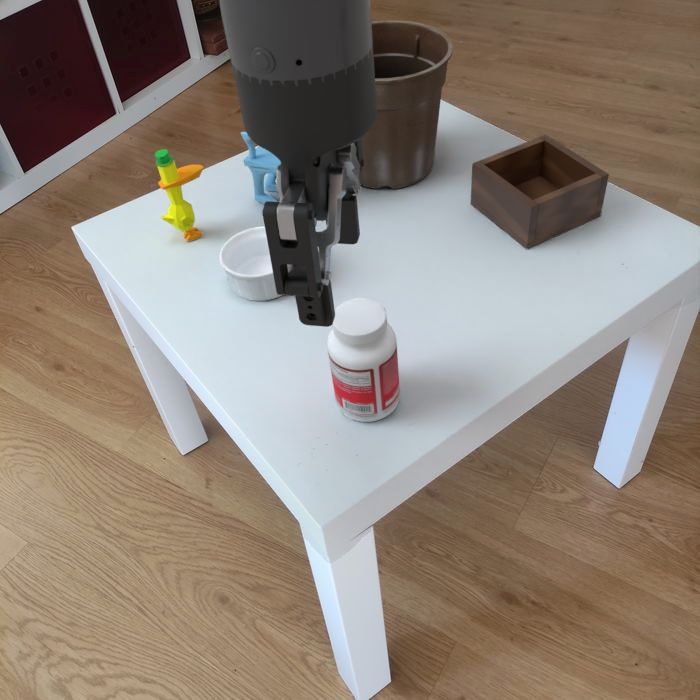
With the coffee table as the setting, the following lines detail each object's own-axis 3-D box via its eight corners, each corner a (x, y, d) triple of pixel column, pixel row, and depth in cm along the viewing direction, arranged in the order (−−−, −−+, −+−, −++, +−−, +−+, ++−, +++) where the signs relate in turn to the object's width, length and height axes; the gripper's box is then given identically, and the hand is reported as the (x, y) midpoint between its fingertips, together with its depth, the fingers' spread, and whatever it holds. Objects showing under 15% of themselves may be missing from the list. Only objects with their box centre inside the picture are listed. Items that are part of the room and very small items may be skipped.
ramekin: (287, 310, 79) (281, 280, 76) (214, 299, 81) (205, 270, 78) (314, 260, 85) (309, 230, 81) (244, 251, 87) (237, 221, 84)
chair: (276, 178, 98) (260, 94, 89) (329, 190, 94) (319, 104, 86) (244, 209, 93) (225, 124, 84) (299, 223, 90) (285, 136, 81)
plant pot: (474, 156, 97) (480, 36, 86) (401, 215, 89) (396, 91, 78) (380, 124, 105) (374, 10, 94) (305, 175, 97) (288, 58, 86)
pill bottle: (385, 367, 72) (379, 283, 64) (410, 411, 68) (407, 327, 60) (327, 387, 71) (313, 304, 63) (348, 433, 66) (336, 350, 59)
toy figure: (211, 218, 92) (188, 133, 84) (224, 230, 90) (202, 144, 82) (163, 239, 90) (135, 154, 81) (176, 253, 88) (147, 167, 79)
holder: (540, 175, 93) (545, 134, 89) (600, 216, 86) (609, 174, 82) (470, 204, 90) (472, 163, 85) (526, 249, 83) (531, 207, 78)
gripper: (343, 110, 32) (367, 359, 44) (392, -12, 42) (402, 219, 53) (185, 107, 33) (250, 349, 45) (268, -10, 43) (303, 215, 55)
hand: (332, 279), depth 49 cm, fingers open, 8 cm apart
